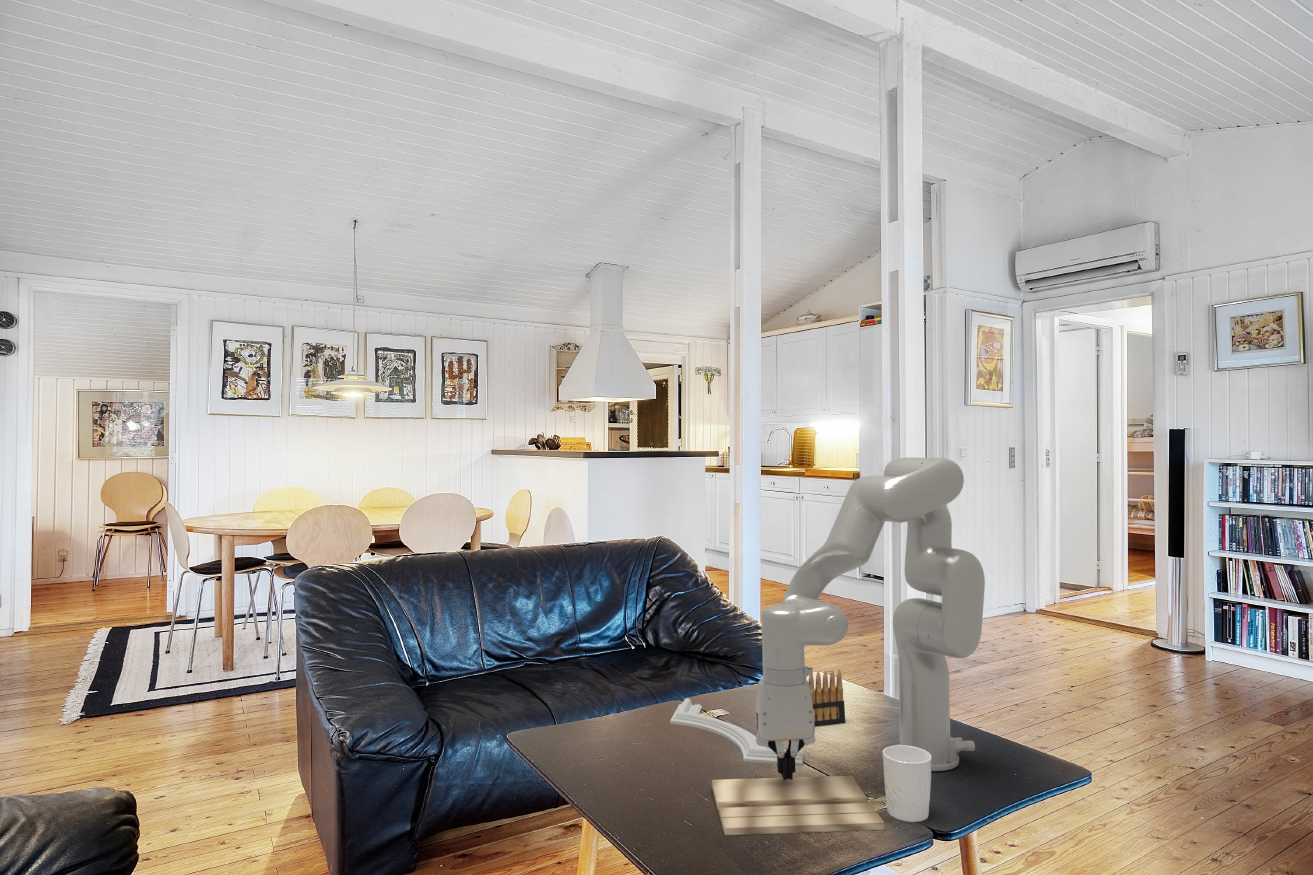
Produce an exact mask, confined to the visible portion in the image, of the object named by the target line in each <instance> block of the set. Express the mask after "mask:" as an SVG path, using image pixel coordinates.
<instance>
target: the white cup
mask: <svg viewBox="0 0 1313 875" xmlns="http://www.w3.org/2000/svg"><path fill="white" fill-rule="evenodd" d="M931 758H932V757H931V754H930V753H929V752H927V751H925V750H923V749H921V748H917V747H913V746H907V745H897V744H895V745H890V746H887V747H885V748H884V749H882V760H883V762H882V764H883V779H884V792H885V796H886V797H885V799H886V811H887V813H888V814H889V816H891V817H892V818H894V819H896V820H899V821H902V822H909V823H916V822H918V823H919V822H923V821H925V820H927V819H928V818H929V814H930V801H931V787H932V786H931V784H932V771H931Z"/></svg>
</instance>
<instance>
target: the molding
mask: <svg viewBox="0 0 1313 875" xmlns="http://www.w3.org/2000/svg"><path fill="white" fill-rule="evenodd" d="M701 709H702V710H703V706H702V705H701V704H700V703H698V704H693V703H692V701H691V699H690V698H688V697H687V698H686V697H685V699H684V700H683V701H682V703H679V704H678V706H677V707H676V710H675V711H674V713H673V714H672V716H671V718H670V721H669V724H670V725H679V726H687V727H692V728H697V729H701V730H704V731H709V732H710V733H714V734H717V735H719V736H721V737H723V738H725V739H727V740H729V741H730V742H732V744H734V745H735V746H736V747H737V748H738V749H739V750H740V752H741V754H742V758H743V759H742V760H743V762H745V763H746V762H747V763H760V764H774V765H777V754H776V753H775V752H774V751H773V750H771V749H770V748H769V747H763V746H759V745H757V743H756V737H757V735H756V736H755V735H754V734H753V733H751V732H750V731H748V730H746V729H744V728H743V727H739V726H737V725H735V724H732V723H730V722H727V721H723V720H721V719H718V718H715V717H711V716H708V715H703V714H701V712H702V710H701ZM700 711H701V712H700ZM783 749H784V752H785V753H786V750H787V748H786V749H785V748H783ZM795 766H800V767H803V766H804V751H803V750H800V751H799V752H798V753H797V756H796V757H795Z"/></svg>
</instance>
